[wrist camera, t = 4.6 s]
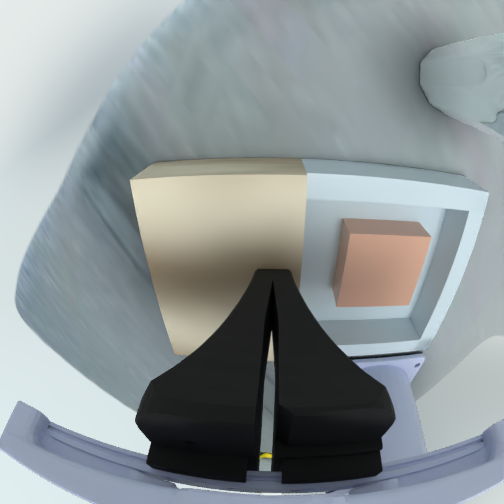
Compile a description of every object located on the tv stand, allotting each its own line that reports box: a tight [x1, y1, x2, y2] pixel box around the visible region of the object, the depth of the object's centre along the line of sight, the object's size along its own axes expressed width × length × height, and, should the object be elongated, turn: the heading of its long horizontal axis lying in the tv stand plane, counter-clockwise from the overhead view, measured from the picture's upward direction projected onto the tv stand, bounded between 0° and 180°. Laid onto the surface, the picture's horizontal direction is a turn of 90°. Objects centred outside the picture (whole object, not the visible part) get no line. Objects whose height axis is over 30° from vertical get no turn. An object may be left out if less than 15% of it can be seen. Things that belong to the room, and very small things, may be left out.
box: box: [299, 159, 489, 356], centre depth 13 cm, size 10×8×2 cm
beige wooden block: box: [130, 158, 307, 361], centre depth 13 cm, size 10×6×2 cm, turn 1°
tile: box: [332, 218, 431, 307], centre depth 13 cm, size 4×4×2 cm
